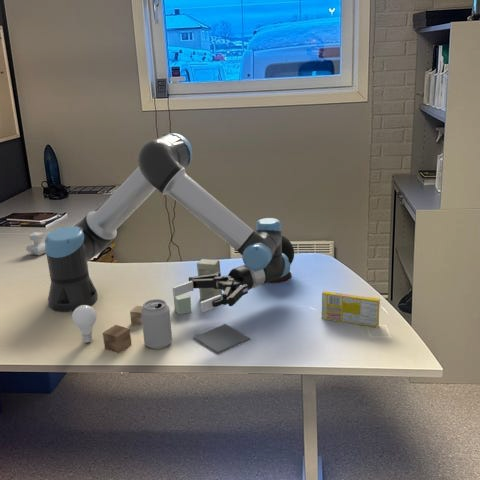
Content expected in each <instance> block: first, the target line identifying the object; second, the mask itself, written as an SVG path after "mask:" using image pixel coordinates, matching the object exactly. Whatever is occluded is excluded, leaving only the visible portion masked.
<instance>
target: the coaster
mask: <svg viewBox="0 0 480 480" xmlns="http://www.w3.org/2000/svg"><path fill="white" fill-rule="evenodd" d="M193 340H195V341H196V342H198V343H200V344H201V345H203V346H204V347H206V348H207V349H209V350H211V351H213V352H214V353H215V354H217V355H219V354H222V353H223V352H226V351H228V350H230V349H233V348H235V347H238V346H239V344H240V345H242V344H244V343H246V342H248V340H249V341H250V340H251V337H249V336H247V335H246V334H245V333H242V332H240V331H239V330H237V329H236V328H233V327H232V326H230V325H229V324H227V323H224V324H221V325H219V326H217V327H215V328H212V329H209V330H207V331H205V332H202V333H199V334H197V335H195V336H193Z"/></svg>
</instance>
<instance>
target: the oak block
mask: <svg viewBox="0 0 480 480" xmlns="http://www.w3.org/2000/svg"><path fill="white" fill-rule="evenodd" d="M142 308H143V305H135V306H134V307H133V308H132V309H131V310H130V311H129V316H130V324H131V325H139V326H143V325H142V316H141V309H142Z"/></svg>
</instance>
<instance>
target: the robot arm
mask: <svg viewBox="0 0 480 480" xmlns="http://www.w3.org/2000/svg"><path fill="white" fill-rule="evenodd" d="M192 160H193V147H192V145H191V143H190V141H189V140H188V139H187V138H186V137H185V136H183V135H182V134H179V133H175V132H174V133H172V132H171V133H170V132H169V133H165V134H163V135H162V136H160V137H157V138H155V139H152V140H149V141H148V142H146V143H145V144H144V145H143V146H142V147H141V148H140V150H139V152H138V156H137V163H138V164H137V165H138V166H137V168H136V169H135V170H134V171H133V172H132V173H131V174H130V175H129V176H128V177H127V178H126V180H124V182H122V183H121V185H120V186H119V187H118V188H117V189H116V190H115V191H114V192H113V193H112V194H111V195H110V196H109V197H108V199H106V200H105V202H104V203H103V204H101V206H100V207H99V208H98V209H97V210H92V211H89V212H88V213H87V214H86V215H85V216H84V217H83V218H82V220H81V221H79V222H78V223H77V224H76V225H74V226H72V225H71V226H69V225H67V226H62V227H60V228H56V229H53V230H52V231H50V232H49V233H48V234H47V235H46V236H45V239H44V243H45V251H46V259H47V264H48V266H47V267H48V270H49V271H48V272H49V277H50V286H49V291H48V295H47V296H48V297H47V303H48V307H49V308H50V310H53V311H55V312H56V311H57V312H74V310H75V309H76V308H77V307H79V306H81V305H89V306H91V307H92V306H93V305H94V304H95V303H96V302H97V300H98V299H99V298H98V291H97V289H96V287H95V285H94V282H93V281H92V279H91V277H90V273H89V265H88V262H90V260H91V259H93V258H94V257H96V256H97V255H99V254H101V253H102V252H103V251H104V252H105V250H106V249H107V248H108V247H109V246H111V245H110V244H111V243H112V242H113V240H115V238H116V237H117V234H118V233H117V232H118V231H117V229H119V227H120V226H121V225H122V224H124V222H125V221H127V219H128V218H129V217H130V216H131V215H132V214H134V212H135V210H137V209H138V208H139V207H140V206H141V205H142V204H143V203H144V202H145V201H146V200H147V199H148V198H149V197H150V196H151V194H153V193H154V192H155V190H157V191H158V192H159V193H161V194H163V196H164V195H169V196H170V197H171V198H172V199H173V200H175V201H176V202H177V203H178V204H180V205H181V206H182V207H184V208H185V209H186V210H187V211H188V212H190V213H191V215H193V216H194V217H196V218H197V219H198V220H199V221H200V222H202V223H203V224H204V225H205V226H206V227H208V228H209V229H210V230H211V231H212V232H213V233H215V234H216V235H217V236H218V237H219V238H220V239H222V240H223V241H224V242H226V243H227V245H230V247H232V248H233V249H234V250H235V251H237V253H239V254H240V255H241V256H242V259H241V260H242V262H243V264H242V265H240V266H237V267H235V268H232V269H231V270H230V271H229V273H228V274H227V275H223V276H222V273H221V272H220V273H215V274H210V275H202V276H198V275H195V276H189V277H188V281H187V282H185V283H181V284H179V285H176V286H173V287H172V296H173V298H174V297H176V296H179V295H181V294H184V293H187V294H188V293H189V292H193V291H194V289H199V288H214V289H221V290H222V296H221V295H218V296H215V297H212V298H210V299H203V300H202V301H200V306H199V307H200V312H202V313H204V312H206V311H209V310H211V309H214V308H217V307H220V306H222V305H223V306H226V305H228V306H229V307H234V305H236V303H237V302H238V301H239V300H240V299H241V298H243V296H246V295H247V294H248V292H249V291H250V290H253V289H256V288H257V287H259V286H262V285H266V284H268V282H271V281H274V280H278V279H279V278H281V277H283V276H285V275H287V274H288V273H289V271H290V272H291V265H290V263H289V261H288V260H289V259H288V257H287V256H286V255H285V254H283V253H282V236H283V235H282V232H283V230H282V223H281V221H280V220H279V219H278V218H274V217H266V218H265V217H264V218H261V219H258V220H257V221H256V226H255V230H254V229H253V228H252V227H250V226H249V225H248V224H247V223H245V222H244V221H243V220H242V219H240V217H238V216H237V215H236V214H235V213H234V212H232V211H231V210H230V209H229V208H227V207H226V206H225V205H224V204H223V203H222V202H220V201H219V200H218V199H216V198H215V197H214V196H213V195H212V194H210V193H209V192H208V191H207V190H206V189H205V188H204V187H202V186H201V185H200V184H199V183H198V182H197V181H195V180H194V179H193V178H192V177H190V176H189V175H188V174H187V172H186V169H187V168H188V167H189V166H190V164H191V162H192ZM216 282H217V283H218V286H217V284H216Z"/></svg>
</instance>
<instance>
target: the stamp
mask: <svg viewBox="0 0 480 480" xmlns="http://www.w3.org/2000/svg"><path fill="white" fill-rule="evenodd" d="M28 237H29V240H30V241H33V243H31V244H29V245H27V246H26V247H25V249H26V251H27V252H28V253H30V255H34V256H41V255H43V254H45V253H46V251H45V242H43V241H41V240H43V239H44V237H45V232H37V231H35V232H32V233H31V234H29V235H28Z"/></svg>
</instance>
